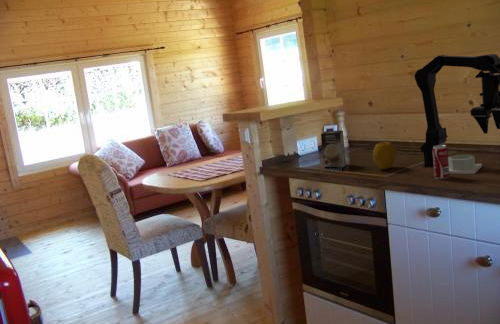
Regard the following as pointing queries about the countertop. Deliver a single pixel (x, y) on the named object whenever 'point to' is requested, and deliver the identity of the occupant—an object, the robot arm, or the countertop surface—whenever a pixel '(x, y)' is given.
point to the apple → (384, 155)
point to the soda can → (440, 162)
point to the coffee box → (333, 148)
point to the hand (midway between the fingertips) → (492, 131)
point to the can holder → (463, 164)
